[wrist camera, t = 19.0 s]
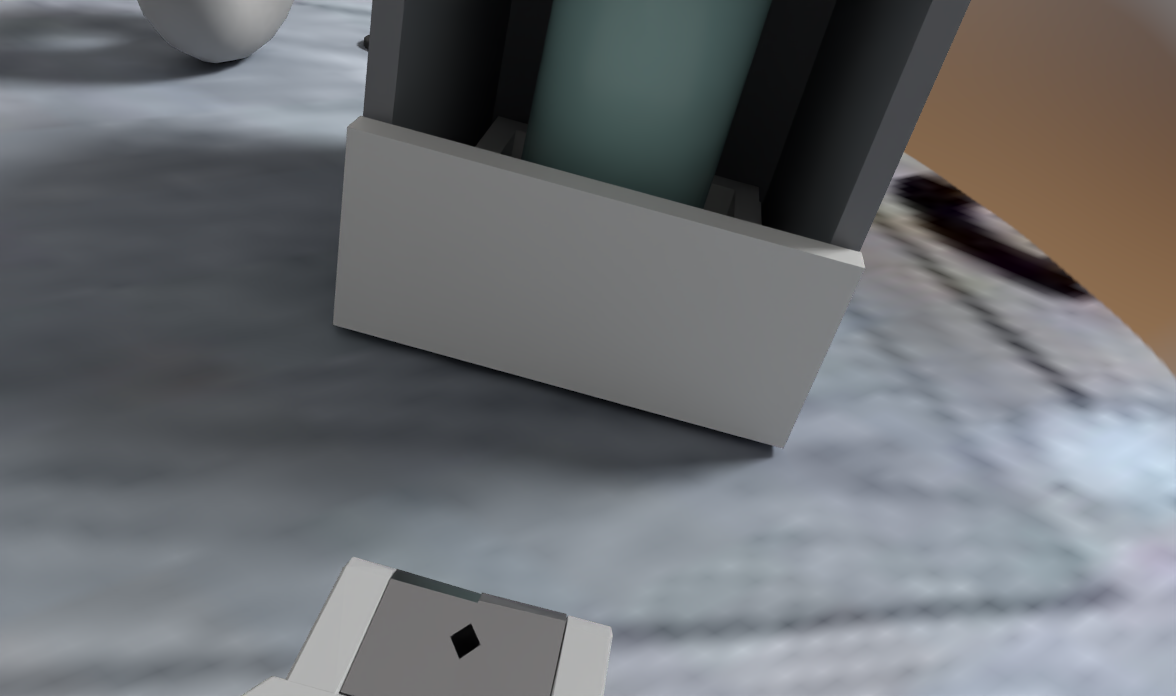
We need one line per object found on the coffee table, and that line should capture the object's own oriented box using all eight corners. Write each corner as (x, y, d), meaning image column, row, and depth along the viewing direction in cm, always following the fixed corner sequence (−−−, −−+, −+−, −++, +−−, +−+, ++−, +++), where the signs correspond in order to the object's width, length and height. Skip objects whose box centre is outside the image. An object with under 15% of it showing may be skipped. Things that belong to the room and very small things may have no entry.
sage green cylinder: (612, 305, 23) (724, -83, 18) (470, 216, 26) (534, -149, 21) (718, 258, 27) (834, -72, 22) (586, 185, 30) (664, -128, 25)
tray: (783, 448, 23) (865, 268, 20) (333, 324, 23) (347, 126, 20) (773, 248, 33) (826, 107, 30) (458, 162, 33) (480, 14, 30)
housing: (779, 431, 24) (1039, -156, 16) (347, 312, 24) (399, -327, 16) (770, 228, 35) (922, -180, 27) (473, 147, 35) (540, -282, 27)
